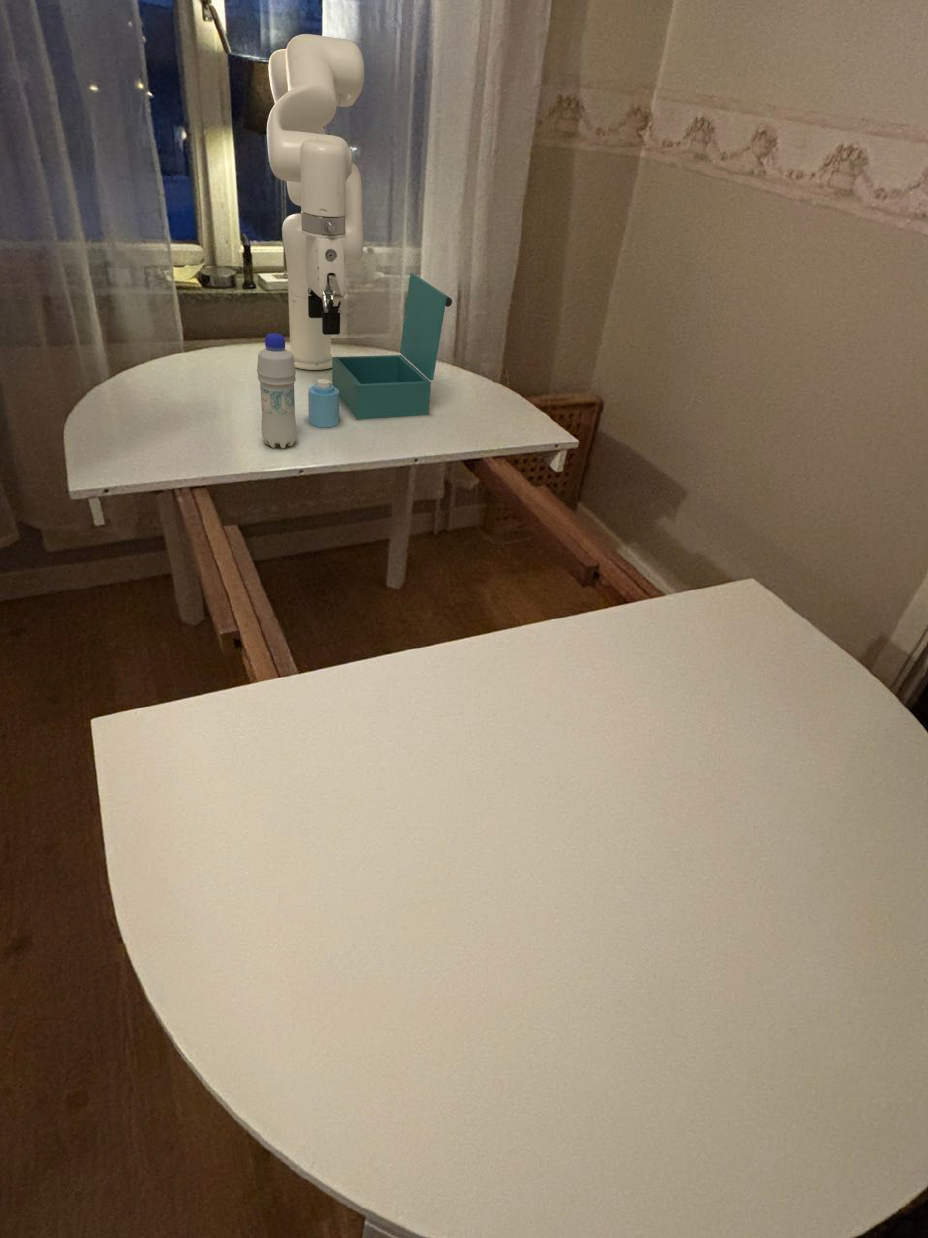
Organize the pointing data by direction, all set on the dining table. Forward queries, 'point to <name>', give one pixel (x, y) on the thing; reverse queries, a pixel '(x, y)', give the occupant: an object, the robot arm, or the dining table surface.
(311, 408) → the water bottle
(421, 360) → the lid
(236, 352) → the dining table surface
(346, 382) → the teal hollow box
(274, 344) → the bottle
